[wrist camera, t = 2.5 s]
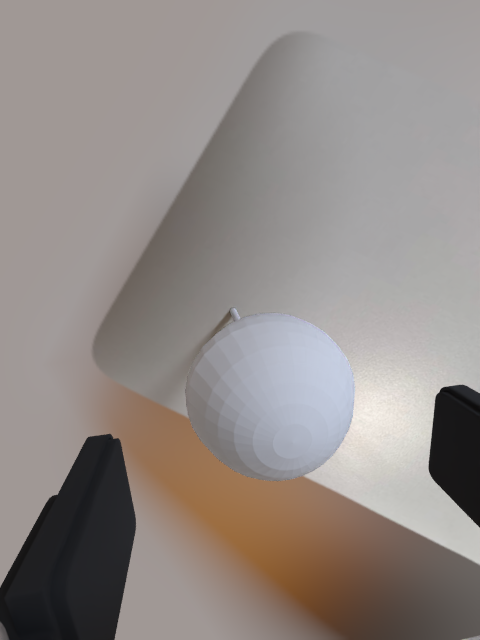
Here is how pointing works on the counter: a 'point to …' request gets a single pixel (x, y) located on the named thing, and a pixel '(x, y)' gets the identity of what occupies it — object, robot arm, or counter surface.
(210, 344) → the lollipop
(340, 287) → the counter surface
